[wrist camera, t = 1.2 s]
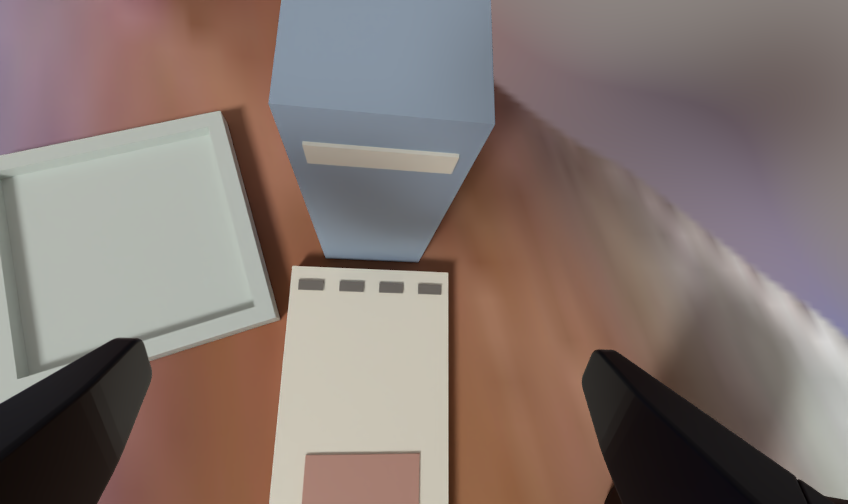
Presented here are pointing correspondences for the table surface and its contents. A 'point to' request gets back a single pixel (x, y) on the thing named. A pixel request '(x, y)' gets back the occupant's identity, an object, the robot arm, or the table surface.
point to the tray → (126, 247)
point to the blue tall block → (382, 115)
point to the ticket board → (363, 389)
